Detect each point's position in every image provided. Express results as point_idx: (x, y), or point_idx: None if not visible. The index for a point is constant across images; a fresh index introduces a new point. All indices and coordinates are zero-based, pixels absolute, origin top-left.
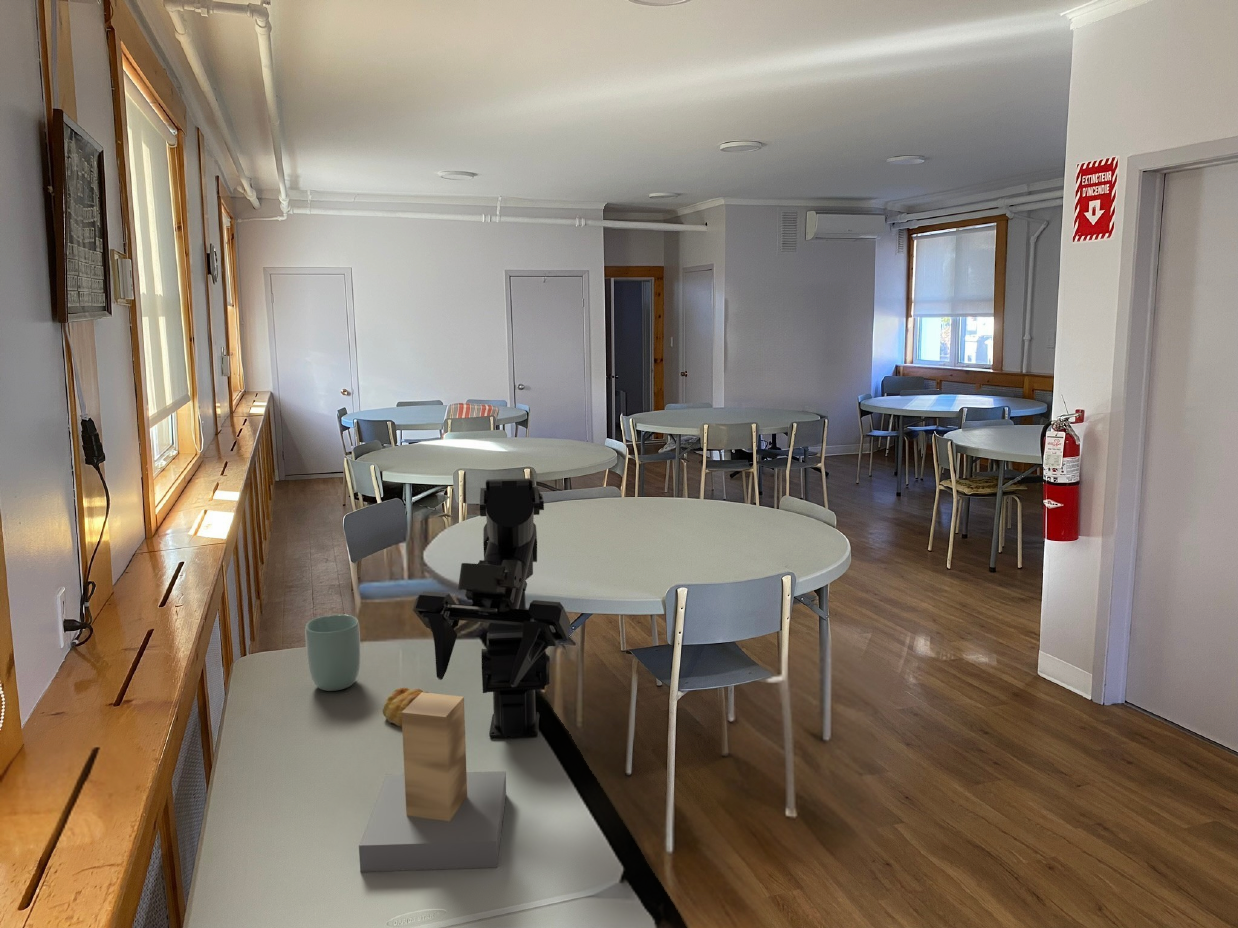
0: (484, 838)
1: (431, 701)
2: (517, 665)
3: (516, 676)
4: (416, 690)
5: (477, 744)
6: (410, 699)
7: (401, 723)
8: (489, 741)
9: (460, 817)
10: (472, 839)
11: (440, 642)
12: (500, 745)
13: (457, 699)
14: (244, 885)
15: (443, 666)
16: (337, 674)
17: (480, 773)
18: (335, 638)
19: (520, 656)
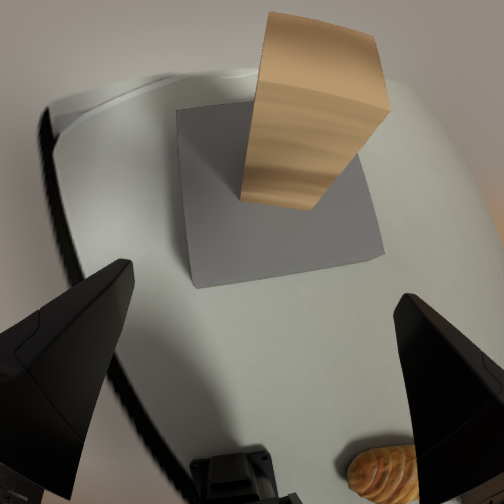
0: (191, 113)
1: (338, 64)
2: (84, 288)
3: (102, 270)
4: (406, 498)
5: (283, 431)
6: (411, 474)
7: (406, 445)
8: (266, 442)
9: (235, 150)
10: (206, 110)
11: (482, 368)
12: (244, 434)
13: (272, 68)
14: (410, 112)
15: (414, 327)
16: None
17: (236, 272)
18: None
19: (59, 311)
